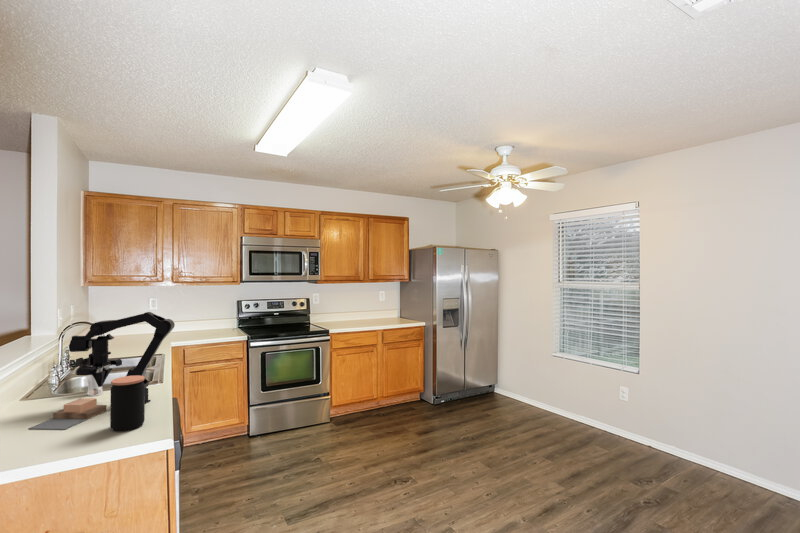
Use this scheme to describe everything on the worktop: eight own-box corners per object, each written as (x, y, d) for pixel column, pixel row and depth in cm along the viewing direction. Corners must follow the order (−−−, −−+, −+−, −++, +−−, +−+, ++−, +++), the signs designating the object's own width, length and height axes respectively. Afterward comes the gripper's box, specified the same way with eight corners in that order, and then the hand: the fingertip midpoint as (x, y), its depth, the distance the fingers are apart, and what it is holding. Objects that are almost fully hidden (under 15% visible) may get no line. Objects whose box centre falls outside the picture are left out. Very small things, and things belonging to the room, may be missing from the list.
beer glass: (94, 396, 188) (94, 364, 188) (82, 395, 189) (82, 363, 189) (108, 392, 194) (108, 361, 195) (96, 391, 196) (96, 360, 196)
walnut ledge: (106, 411, 169) (106, 405, 169) (86, 419, 159) (86, 413, 159) (74, 410, 169) (74, 404, 169) (52, 419, 159) (52, 413, 159)
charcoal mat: (86, 419, 159) (86, 418, 159) (64, 429, 149) (64, 428, 149) (52, 419, 159) (52, 418, 159) (28, 429, 149) (28, 428, 149)
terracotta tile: (96, 405, 168) (96, 398, 168) (80, 412, 160) (80, 404, 160) (80, 405, 168) (80, 398, 168) (63, 412, 160) (63, 404, 160)
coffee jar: (151, 423, 155) (151, 376, 155) (124, 434, 145) (124, 384, 145) (131, 420, 159) (131, 374, 159) (103, 430, 149) (103, 381, 149)
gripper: (99, 346, 184) (99, 380, 184) (63, 355, 165) (63, 393, 165) (122, 346, 183) (122, 380, 183) (89, 355, 165) (89, 393, 165)
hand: (100, 386), depth 174 cm, fingers closed
